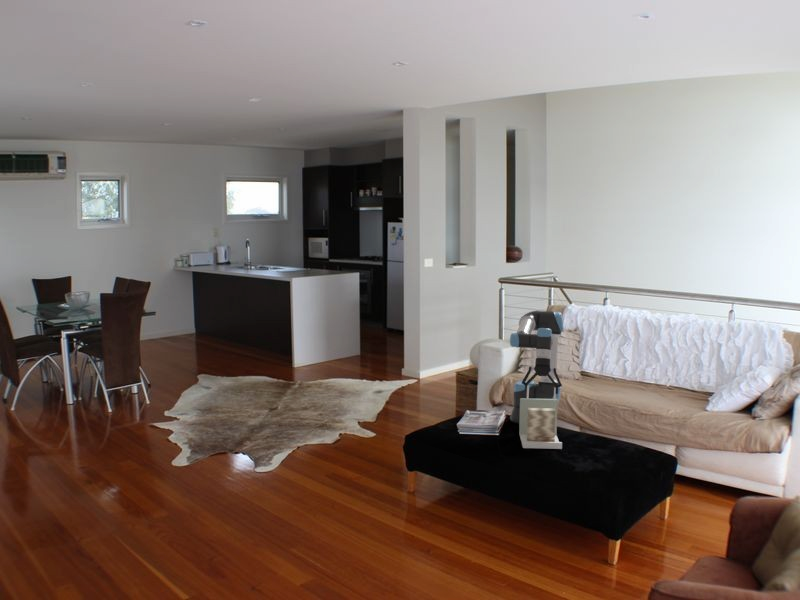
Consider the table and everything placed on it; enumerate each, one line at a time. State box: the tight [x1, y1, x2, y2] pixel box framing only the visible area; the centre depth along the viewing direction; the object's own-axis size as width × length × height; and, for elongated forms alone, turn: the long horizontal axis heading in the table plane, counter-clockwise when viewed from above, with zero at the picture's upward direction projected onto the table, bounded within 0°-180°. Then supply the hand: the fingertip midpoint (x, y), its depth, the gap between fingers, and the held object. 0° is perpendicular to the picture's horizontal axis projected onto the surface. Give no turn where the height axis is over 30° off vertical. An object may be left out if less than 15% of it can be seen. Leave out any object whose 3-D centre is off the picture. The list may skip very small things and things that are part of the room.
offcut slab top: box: [536, 437, 555, 442], centre depth 374 cm, size 9×3×2 cm, turn 86°
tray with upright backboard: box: [518, 398, 563, 450], centre depth 380 cm, size 20×22×21 cm
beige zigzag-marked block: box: [527, 408, 555, 441], centre depth 379 cm, size 14×4×18 cm, turn 86°
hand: (540, 399), depth 365 cm, fingers open, 13 cm apart
